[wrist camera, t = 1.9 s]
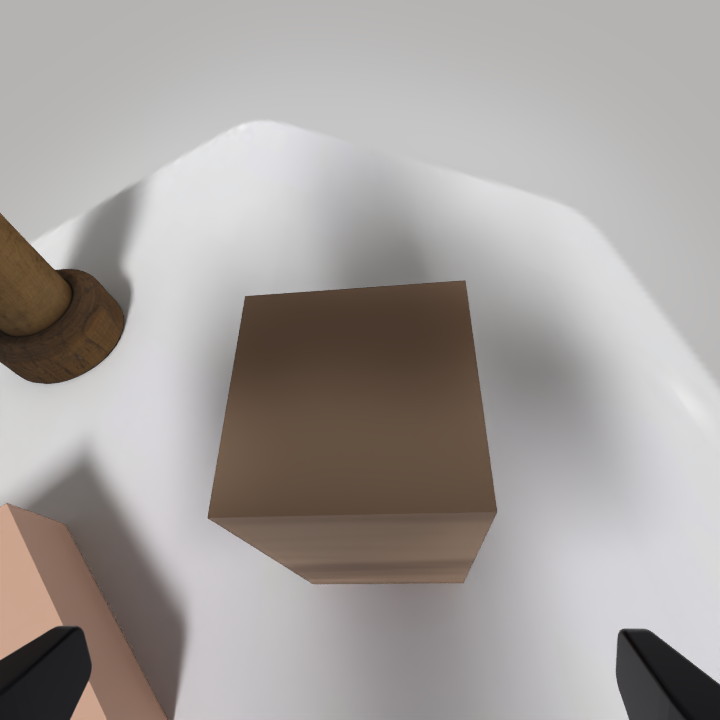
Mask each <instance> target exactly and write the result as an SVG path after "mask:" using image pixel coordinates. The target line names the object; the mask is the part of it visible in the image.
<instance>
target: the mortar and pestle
mask: <svg viewBox="0 0 720 720" xmlns="http://www.w3.org/2000/svg"><path fill="white" fill-rule="evenodd" d="M123 325H124V316H123V313H122V310H121V308H120V306H119V305H118V303H117V302H116V301H115V300H114V298H113V297H112V296H111V295H110V294H109V293H108V292H107V291H106V290H105V289H104V288H103V286H102V285H101V284H100V283H99V282H98V281H97V280H96V279H95V278H94V277H93V276H91V275H90V274H88V273H86V272H83V271H80V270H74V269H61V270H54V269H53V268H52V267H51V266H50V265H49V264H48V263H47V262H46V261H45V259H44V258H43V257H42V256H41V255H40V254H39V253H38V252H37V251H36V250H35V249H34V248H33V247H32V246H31V245H30V244H29V243H28V242H27V241H26V240H25V239H24V238H23V237H22V236H21V235H20V234H19V232H18V231H17V230H16V229H15V228H14V227H13V226H12V225H11V224H10V223H9V222H8V221H7V220H6V219H5V218H4V217H3V215H2V214H1V213H0V362H1V363H2V364H4V365H5V366H6V367H8V368H9V369H11V370H12V371H13V372H15V373H16V374H17V375H19V376H20V377H22V378H24V379H26V380H28V381H31V382H35V383H44V384H52V383H59V382H63V381H67V380H70V379H73V378H75V377H78V376H80V375H82V374H83V373H85V372H87V371H89V370H90V369H92V368H93V367H95V366H96V365H97V364H99V363H100V362H101V361H102V360H103V359H104V358H105V357H106V356H107V355H108V354H109V353H110V351H111V350H112V349H113V348H114V346H115V345H116V343H117V342H118V340H119V337H120V335H121V333H122V330H123Z"/></svg>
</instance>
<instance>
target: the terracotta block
mask: <svg viewBox="0 0 720 720" xmlns="http://www.w3.org/2000/svg"><path fill="white" fill-rule="evenodd" d="M57 626H79V627H81V628H82V629H83V631H84V633H85V637H86V641H87V645H88V649H89V653H90V657H91V661H92V671H91V675H90V679H89V681H88V683H87V685H86V688H85V690H84V692H83V694H82V696H81V698H80V700H79V702H78V704H77V706H76V709H75V711H74V713H73V715H72V717H71V719H70V720H168V719H167V717H166V715H165V713H164V712H163V710H162V708H161V706H160V704H159V702H158V700H157V698H156V696H155V694H154V693H153V691H152V689H151V687H150V685H149V683H148V681H147V679H146V677H145V675H144V673H143V672H142V670H141V668H140V666H139V664H138V662H137V660H136V658H135V656H134V654H133V653H132V651H131V649H130V647H129V645H128V643H127V641H126V639H125V637H124V635H123V633H122V632H121V630H120V628H119V626H118V624H117V622H116V620H115V618H114V616H113V614H112V613H111V611H110V609H109V607H108V605H107V603H106V601H105V599H104V597H103V595H102V593H101V592H100V590H99V588H98V586H97V584H96V582H95V580H94V578H93V576H92V574H91V573H90V571H89V569H88V567H87V565H86V563H85V561H84V559H83V557H82V555H81V553H80V552H79V550H78V548H77V546H76V544H75V542H74V540H73V538H72V536H71V534H70V533H69V531H68V529H67V527H66V525H65V524H63V523H60V522H57V521H54V520H52V519H49V518H46V517H43V516H41V515H38V514H35V513H32V512H30V511H27V510H24V509H21V508H19V507H16V506H13V505H10V504H8V503H6V504H4V505H3V506H2V507H0V660H1V659H3V658H4V657H6V656H8V655H9V654H11V653H13V652H14V651H16V650H18V649H19V648H21V647H22V646H24V645H26V644H27V643H29V642H31V641H32V640H34V639H36V638H37V637H39V636H41V635H42V634H44V633H46V632H47V631H49V630H50V629H52V628H54V627H57Z"/></svg>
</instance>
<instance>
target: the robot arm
mask: <svg viewBox="0 0 720 720" xmlns="http://www.w3.org/2000/svg"><path fill="white" fill-rule="evenodd" d="M91 671H92V661H91V657H90V653H89V649H88V645H87V641H86V637H85V633H84V631H83V629H82V628H81V627H79V626H57V627H54V628H52V629H50V630H49V631H47V632H46V633H44V634H42V635H41V636H39V637H37V638H36V639H34V640H32V641H31V642H29V643H27V644H26V645H24V646H22V647H21V648H19V649H18V650H16V651H14V652H13V653H11V654H9V655H8V656H6V657H4V658H3V659H1V660H0V720H70V719H71V717H72V715H73V713H74V711H75V709H76V706H77V704H78V702H79V700H80V698H81V696H82V694H83V692H84V690H85V688H86V685H87V683H88V681H89V679H90V675H91ZM616 678H617V684H618V688H619V691H620V694H621V697H622V700H623V702H624V705H625V708H626V711H627V714H628V717H629V720H720V684H719V683H717V682H716V681H715V680H713V679H712V678H711V677H710V676H708V675H707V674H706V673H704V672H703V671H702V670H701V669H699V668H698V667H697V666H695V665H694V664H693V663H691V662H690V661H689V660H688V659H686V658H685V657H684V656H682V655H681V654H680V653H679V652H677V651H676V650H675V649H673V648H672V647H671V646H670V645H668V644H667V643H666V642H664V641H663V640H662V639H660V638H659V637H658V636H657V635H655V634H654V633H653V632H651V631H649V630H647V629H622V630H620V631H619V634H618V640H617V658H616Z"/></svg>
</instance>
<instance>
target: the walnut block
mask: <svg viewBox="0 0 720 720" xmlns="http://www.w3.org/2000/svg"><path fill="white" fill-rule="evenodd" d="M496 513H497V508H496V500H495V493H494V486H493V479H492V471H491V464H490V457H489V449H488V442H487V435H486V427H485V420H484V413H483V406H482V398H481V391H480V384H479V376H478V369H477V362H476V354H475V347H474V340H473V333H472V325H471V318H470V311H469V303H468V296H467V289H466V281H451V282H437V283H423V284H409V285H395V286H381V287H367V288H354V289H340V290H326V291H312V292H298V293H284V294H270V295H256V296H245V301H244V307H243V313H242V318H241V324H240V330H239V336H238V342H237V348H236V354H235V360H234V365H233V371H232V377H231V383H230V389H229V395H228V401H227V407H226V412H225V418H224V424H223V430H222V436H221V442H220V448H219V454H218V459H217V465H216V471H215V477H214V483H213V489H212V495H211V501H210V506H209V512H208V519H210V520H212V521H213V522H215V523H216V524H218V525H220V526H221V527H223V528H224V529H226V530H228V531H229V532H231V533H232V534H234V535H235V536H237V537H239V538H240V539H242V540H243V541H245V542H247V543H248V544H250V545H251V546H253V547H255V548H256V549H258V550H259V551H261V552H263V553H264V554H266V555H267V556H269V557H271V558H272V559H274V560H275V561H277V562H279V563H280V564H282V565H283V566H285V567H287V568H288V569H290V570H291V571H293V572H294V573H296V574H298V575H299V576H301V577H302V578H304V579H306V580H307V581H309V582H310V583H312V584H408V583H464V581H465V579H466V577H467V575H468V572H469V570H470V568H471V566H472V564H473V562H474V560H475V558H476V555H477V553H478V551H479V549H480V547H481V545H482V543H483V541H484V539H485V536H486V534H487V532H488V530H489V528H490V526H491V524H492V522H493V519H494V517H495V515H496Z"/></svg>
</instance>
